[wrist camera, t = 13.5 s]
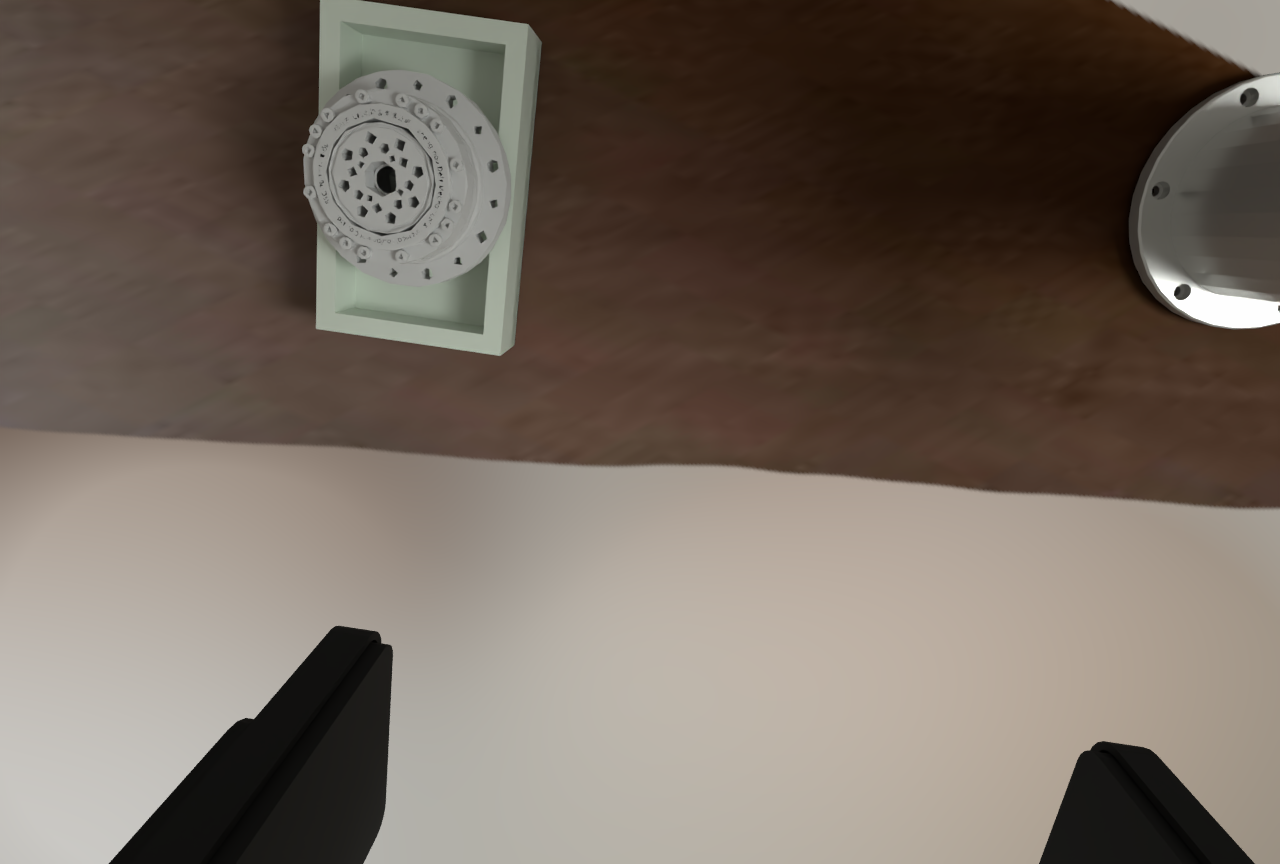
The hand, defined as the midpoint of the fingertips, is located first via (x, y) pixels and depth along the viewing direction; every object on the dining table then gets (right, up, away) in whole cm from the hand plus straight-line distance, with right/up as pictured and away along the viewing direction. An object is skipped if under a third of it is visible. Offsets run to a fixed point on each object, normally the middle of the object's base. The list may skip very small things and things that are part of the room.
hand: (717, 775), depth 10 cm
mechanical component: (-12, +17, +27) cm, 34 cm away
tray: (-12, +18, +30) cm, 37 cm away
